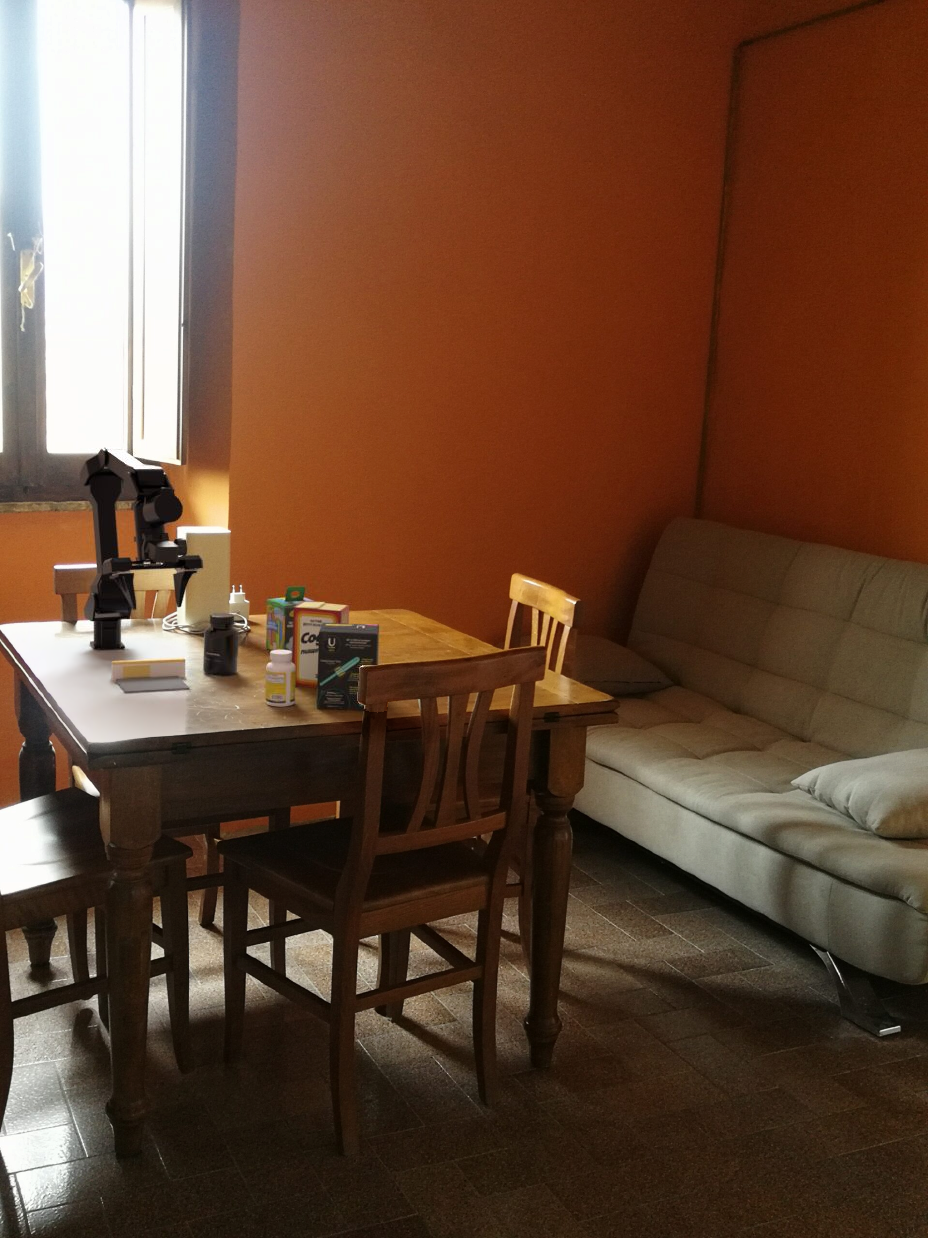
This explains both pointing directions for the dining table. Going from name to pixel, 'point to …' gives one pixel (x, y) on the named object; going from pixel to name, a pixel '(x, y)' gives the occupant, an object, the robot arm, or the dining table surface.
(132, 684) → the shelf mat
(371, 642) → the tampon box
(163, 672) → the rail
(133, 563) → the robot arm
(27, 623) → the dining table surface
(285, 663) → the supplement bottle
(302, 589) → the chalk box
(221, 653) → the supplement bottle
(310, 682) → the baking soda box
